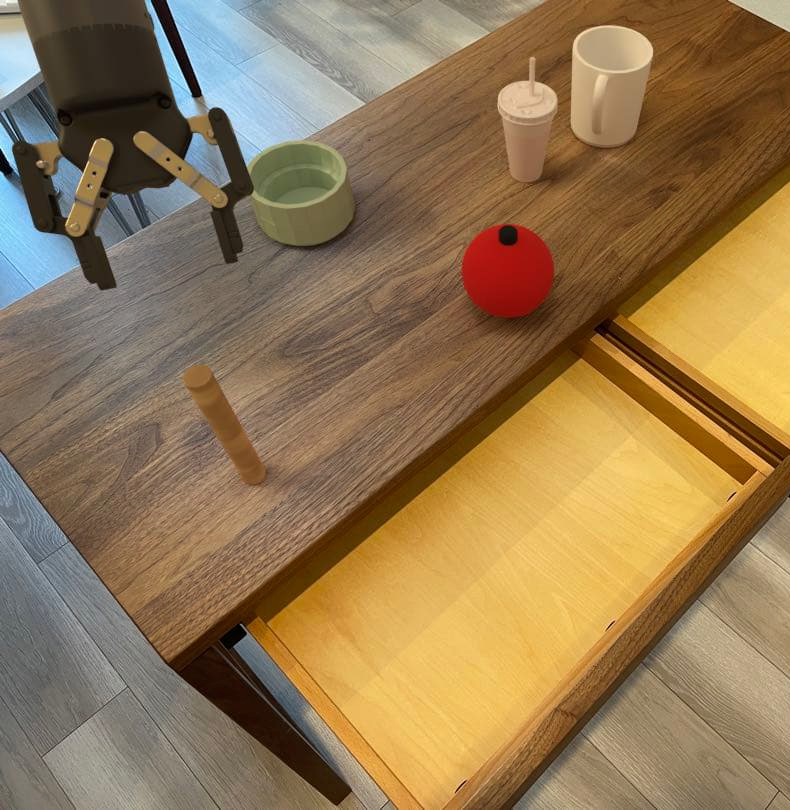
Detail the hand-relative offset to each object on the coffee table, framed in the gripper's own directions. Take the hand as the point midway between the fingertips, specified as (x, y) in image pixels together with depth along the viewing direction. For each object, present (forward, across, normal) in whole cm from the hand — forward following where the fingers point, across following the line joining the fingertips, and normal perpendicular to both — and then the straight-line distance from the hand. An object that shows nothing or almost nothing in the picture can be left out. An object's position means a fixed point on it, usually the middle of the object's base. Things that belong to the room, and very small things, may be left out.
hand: (172, 275), depth 56 cm
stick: (+18, 0, +8) cm, 19 cm away
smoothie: (-3, +35, +29) cm, 46 cm away
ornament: (+9, +27, +16) cm, 33 cm away
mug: (-6, +46, +32) cm, 56 cm away
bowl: (-4, +10, +29) cm, 31 cm away
